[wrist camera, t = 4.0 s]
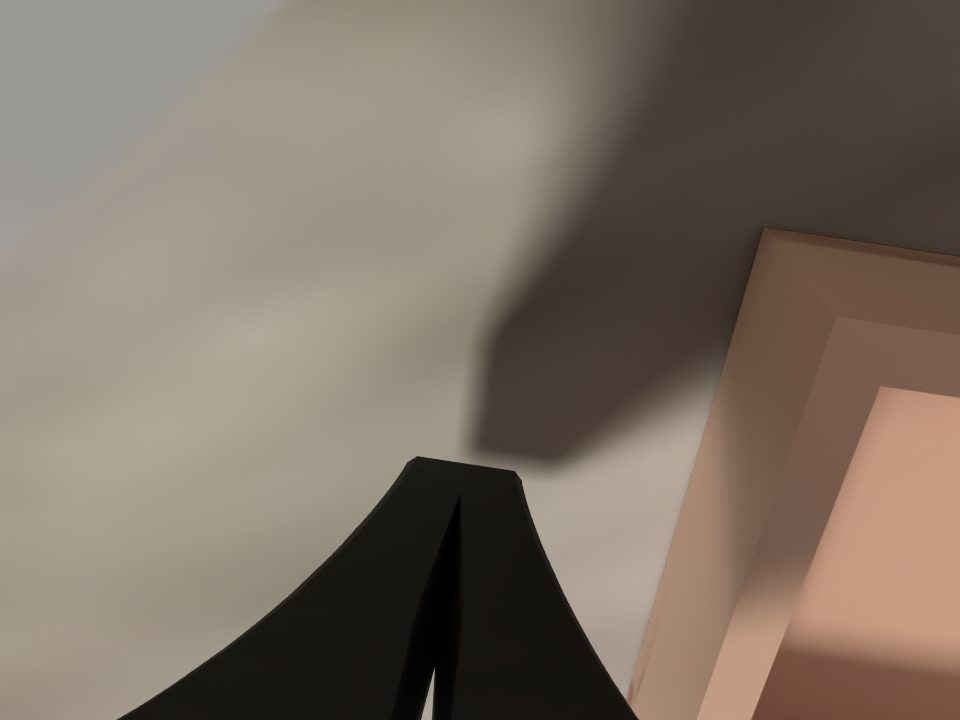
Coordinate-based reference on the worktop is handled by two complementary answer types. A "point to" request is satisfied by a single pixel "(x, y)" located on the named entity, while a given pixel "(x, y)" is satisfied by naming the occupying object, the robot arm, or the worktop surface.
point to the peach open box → (821, 501)
